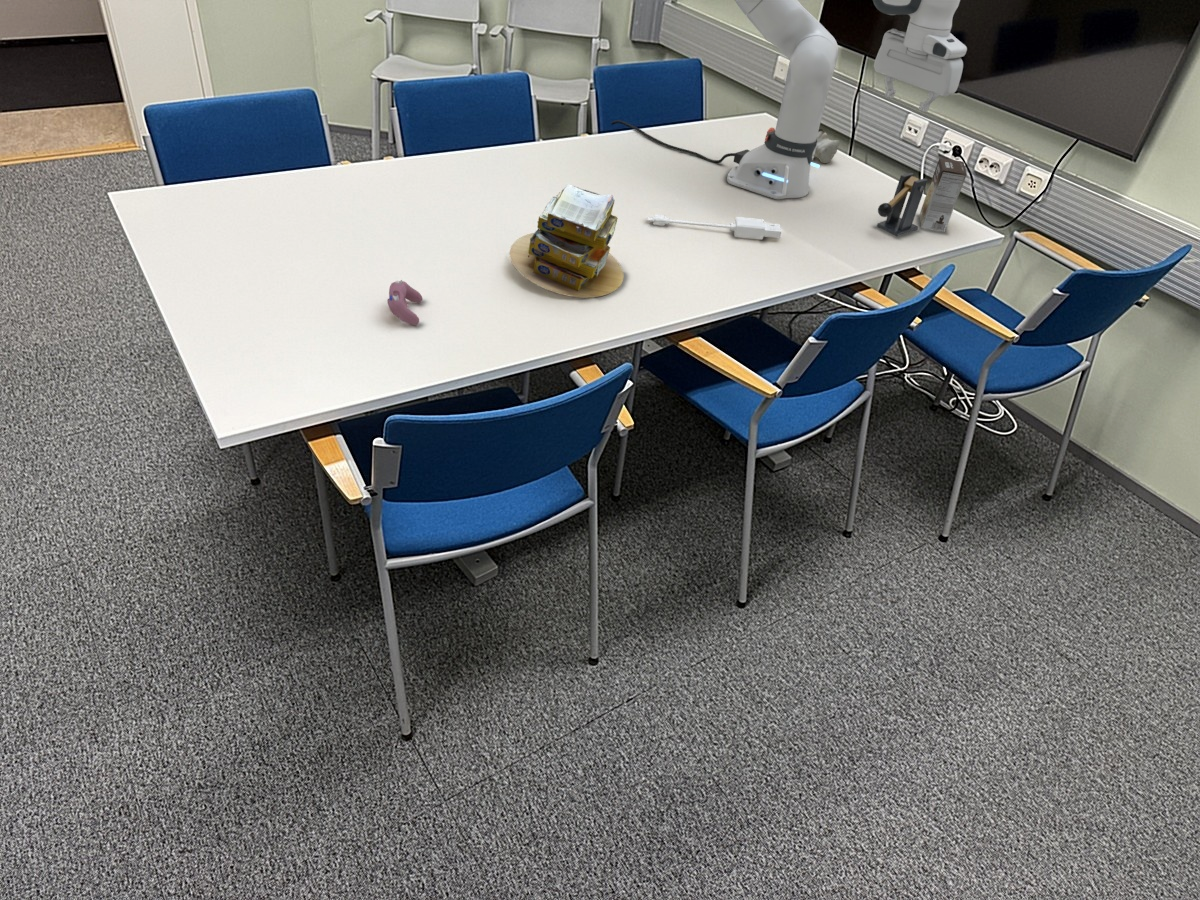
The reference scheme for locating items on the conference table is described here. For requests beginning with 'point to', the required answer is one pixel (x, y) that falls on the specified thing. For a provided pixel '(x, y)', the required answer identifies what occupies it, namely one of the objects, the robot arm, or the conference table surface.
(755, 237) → the charging cable
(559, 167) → the conference table surface
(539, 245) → the stack of yellow boxes
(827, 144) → the ceramic sculpture
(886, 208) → the flush lever
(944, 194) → the coffee box
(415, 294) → the video game controller
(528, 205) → the conference table surface
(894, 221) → the dark grey upright bracket
